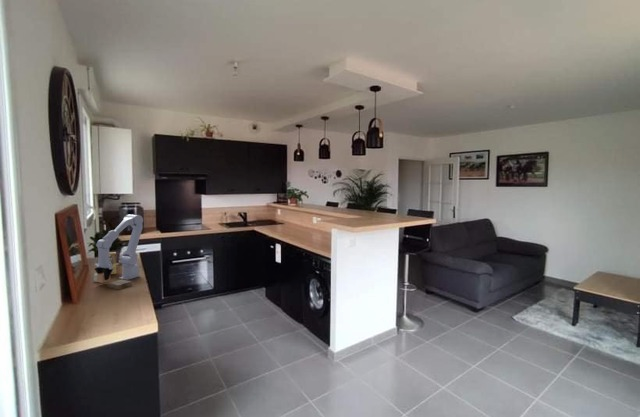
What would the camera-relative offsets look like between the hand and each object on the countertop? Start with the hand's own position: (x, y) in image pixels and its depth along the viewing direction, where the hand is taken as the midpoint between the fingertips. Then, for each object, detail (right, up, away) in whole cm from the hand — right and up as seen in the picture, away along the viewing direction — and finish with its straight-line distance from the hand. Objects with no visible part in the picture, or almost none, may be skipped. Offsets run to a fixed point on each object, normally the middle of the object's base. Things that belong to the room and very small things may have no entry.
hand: (103, 278), depth 193 cm
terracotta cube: (0, -2, 0) cm, 2 cm away
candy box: (-13, -2, +23) cm, 26 cm away
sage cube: (-7, -3, +7) cm, 10 cm away
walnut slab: (+12, -5, -2) cm, 13 cm away
